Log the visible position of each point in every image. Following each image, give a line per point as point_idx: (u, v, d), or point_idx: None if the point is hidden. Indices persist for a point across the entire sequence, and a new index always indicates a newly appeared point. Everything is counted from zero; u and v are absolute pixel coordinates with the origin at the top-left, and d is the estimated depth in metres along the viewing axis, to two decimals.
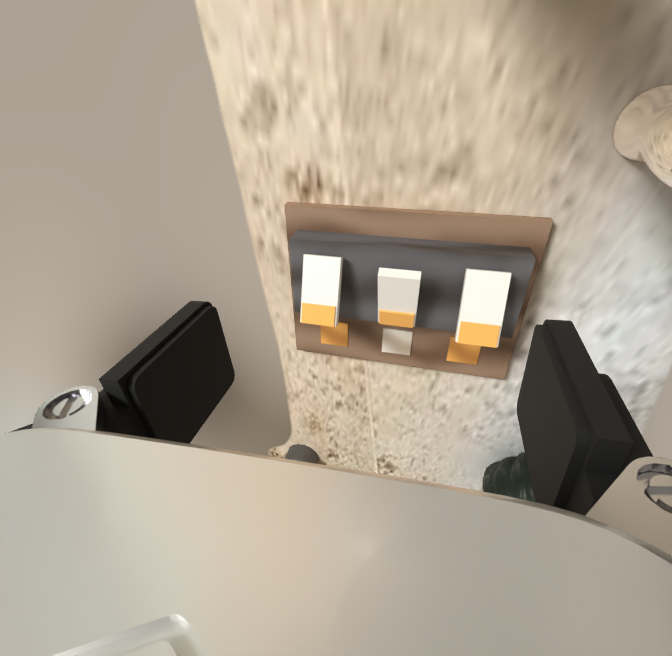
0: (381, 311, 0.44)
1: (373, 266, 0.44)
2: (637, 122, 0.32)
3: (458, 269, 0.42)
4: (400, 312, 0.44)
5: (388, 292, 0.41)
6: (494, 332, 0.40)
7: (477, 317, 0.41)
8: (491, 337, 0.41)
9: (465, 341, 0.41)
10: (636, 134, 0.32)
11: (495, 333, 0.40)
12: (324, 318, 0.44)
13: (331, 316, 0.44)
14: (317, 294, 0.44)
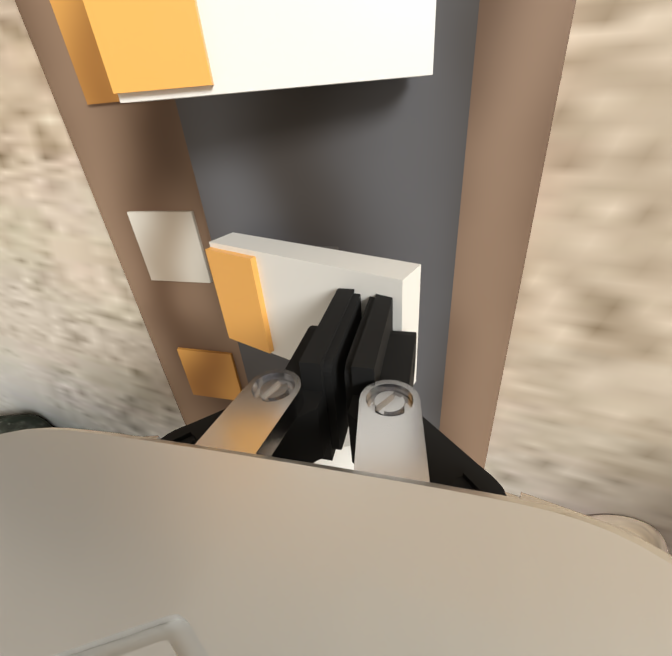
0: (251, 264, 0.13)
1: (388, 198, 0.13)
2: None
3: None
4: (265, 318, 0.14)
5: None
6: None
7: None
8: None
9: None
10: None
11: None
12: (132, 30, 0.09)
13: (158, 72, 0.09)
14: None
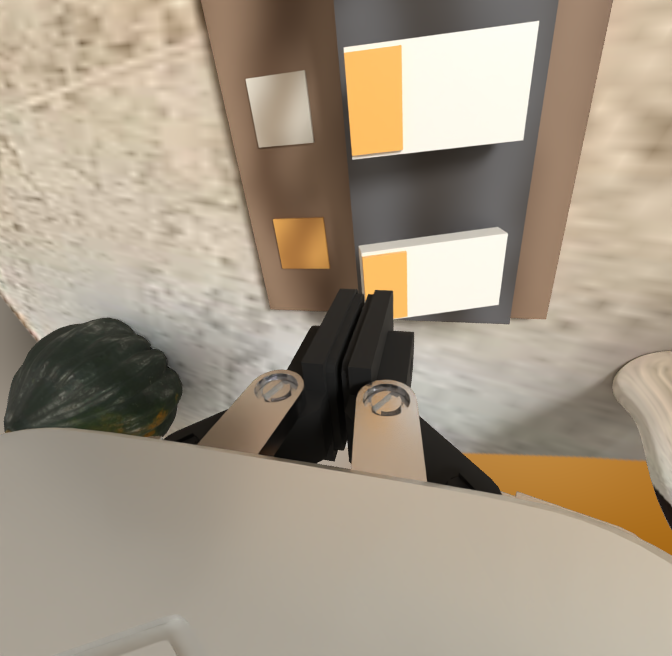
0: (400, 52, 0.16)
1: (498, 0, 0.17)
2: None
3: (491, 213, 0.22)
4: (402, 111, 0.17)
5: (476, 63, 0.16)
6: (395, 311, 0.22)
7: (416, 276, 0.21)
8: None
9: (368, 271, 0.21)
10: None
11: (393, 313, 0.22)
12: None
13: None
14: None
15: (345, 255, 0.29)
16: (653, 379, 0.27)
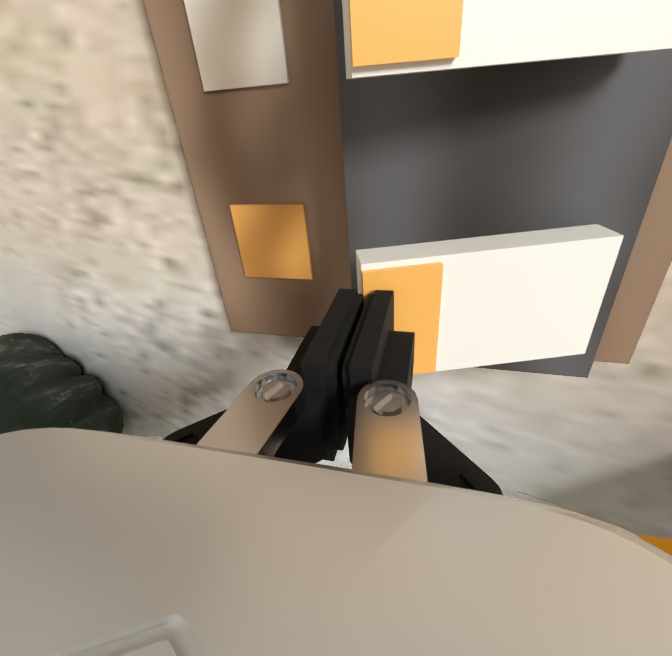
0: None
1: None
2: None
3: (585, 200, 0.13)
4: None
5: None
6: (414, 364, 0.13)
7: (456, 307, 0.12)
8: None
9: None
10: None
11: None
12: None
13: None
14: None
15: (336, 260, 0.20)
16: None
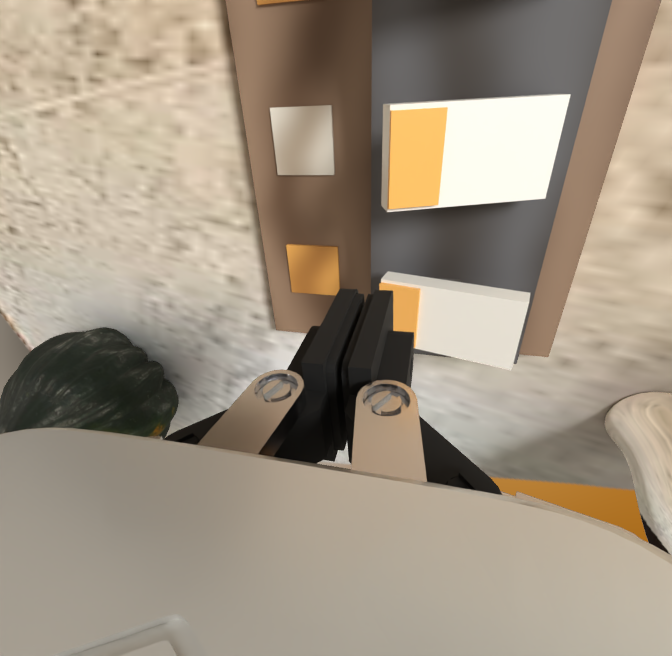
0: (445, 114, 0.16)
1: (535, 66, 0.17)
2: None
3: (508, 261, 0.22)
4: (440, 169, 0.17)
5: (512, 128, 0.17)
6: None
7: (428, 315, 0.22)
8: None
9: None
10: None
11: None
12: None
13: None
14: None
15: (357, 284, 0.29)
16: (645, 419, 0.28)
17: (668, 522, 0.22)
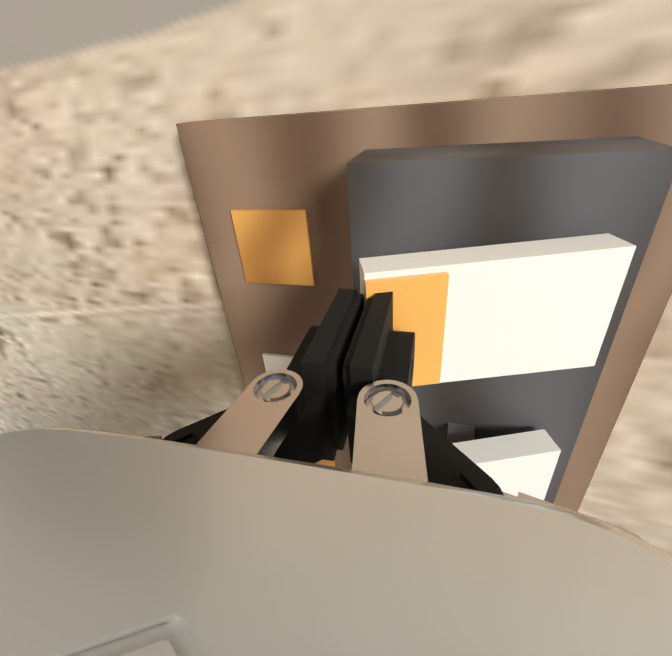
0: None
1: (525, 403, 0.17)
2: None
3: None
4: None
5: (501, 477, 0.16)
6: None
7: None
8: None
9: None
10: None
11: None
12: None
13: None
14: (478, 319, 0.12)
15: None
16: None
17: None
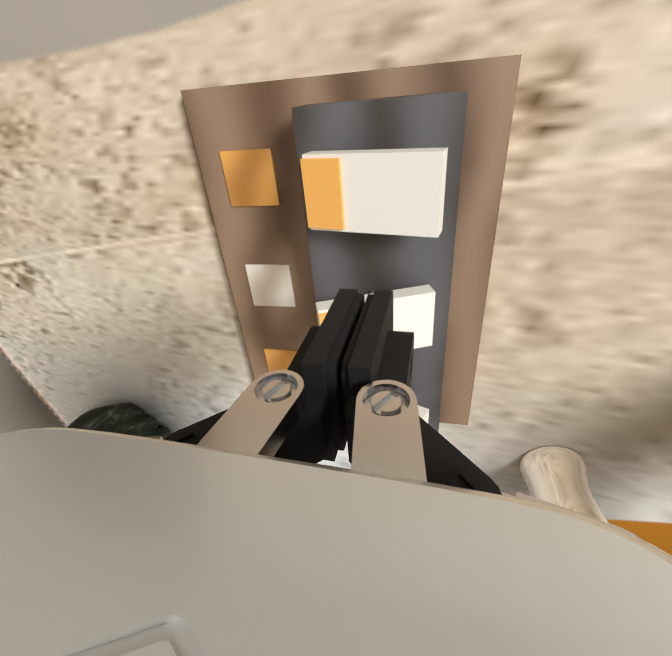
0: None
1: (415, 267, 0.26)
2: (571, 478, 0.36)
3: (420, 374, 0.31)
4: None
5: (400, 312, 0.26)
6: None
7: None
8: None
9: None
10: (564, 485, 0.35)
11: None
12: (318, 209, 0.23)
13: (325, 223, 0.23)
14: (361, 190, 0.21)
15: None
16: (542, 469, 0.37)
17: None
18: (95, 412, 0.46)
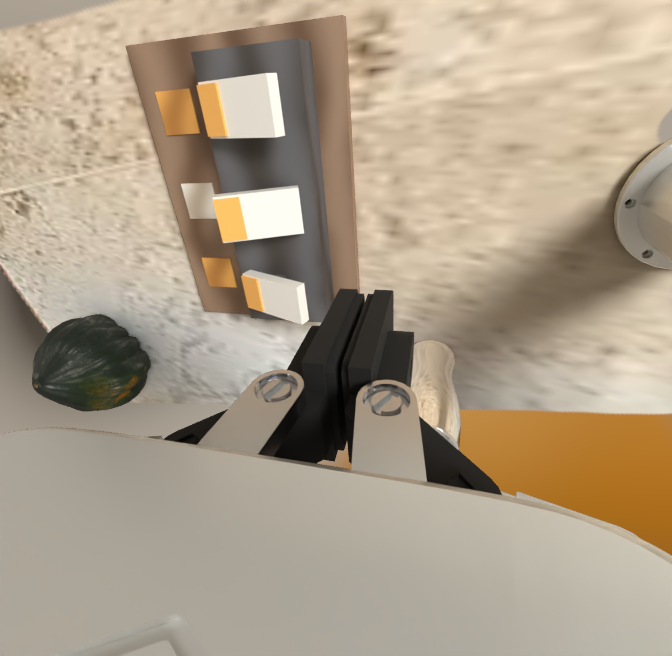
0: (238, 199, 0.35)
1: (288, 172, 0.37)
2: (434, 359, 0.45)
3: (306, 264, 0.42)
4: (244, 222, 0.37)
5: (274, 203, 0.36)
6: (257, 307, 0.43)
7: (264, 293, 0.42)
8: (253, 304, 0.44)
9: (244, 283, 0.43)
10: (427, 362, 0.45)
11: (256, 308, 0.43)
12: (211, 122, 0.34)
13: (216, 132, 0.34)
14: (231, 105, 0.32)
15: None
16: (416, 355, 0.47)
17: None
18: (76, 319, 0.57)
